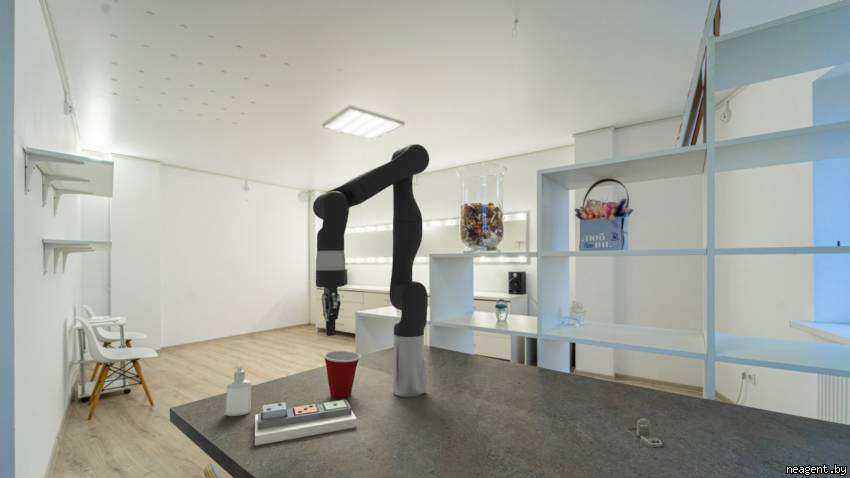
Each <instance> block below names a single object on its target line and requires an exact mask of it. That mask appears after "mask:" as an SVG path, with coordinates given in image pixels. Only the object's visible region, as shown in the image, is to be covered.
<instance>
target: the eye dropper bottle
mask: <svg viewBox="0 0 850 478" xmlns="http://www.w3.org/2000/svg"><path fill="white" fill-rule="evenodd" d="M242 367H243V366H242V365H239V366H237V370H235V371H234V372H233V374H234V375H233V381H230V382H229V383H228V384H227V386H226V395H225V396H226V398H225V415H226V416H228V417H237V416H238V417H239V416H244V415H248V414H249V413H250V412H251V408H252V407H251V406H252V405H251V404H252V403H251V401H252V382H251V381H250V380H249V379H245V377H246V371H245V370H243V368H242Z"/></svg>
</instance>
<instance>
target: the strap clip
mask: <svg viewBox="0 0 850 478" xmlns="http://www.w3.org/2000/svg"><path fill="white" fill-rule="evenodd" d="M641 423H647V424H641ZM626 431H628V432H629V433H630V434H632V435H634V436H635V437H638V438H640V440H641V441H642V442H644V443H645V444H646V445H648V446H649V447H653V448H658V447H659V448H660V447H663V445H664V444H663V442H662V440H660V439H658V438H657V437H655V436H653V435H651V434H650V432H651V421H650V420H649V419H647V418H639V419H638V420H637V422H636V427H627V428H626Z"/></svg>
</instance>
